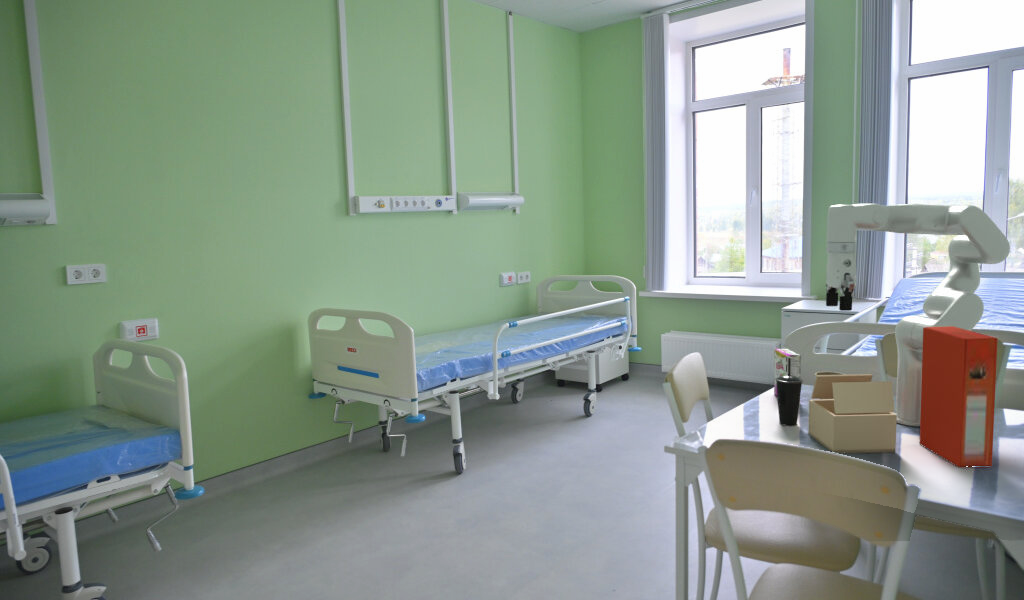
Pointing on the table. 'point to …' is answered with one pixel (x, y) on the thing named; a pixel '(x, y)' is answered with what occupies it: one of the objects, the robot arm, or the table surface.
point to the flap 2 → (863, 397)
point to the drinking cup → (788, 397)
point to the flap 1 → (824, 382)
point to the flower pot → (828, 374)
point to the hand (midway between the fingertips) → (838, 308)
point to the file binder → (958, 395)
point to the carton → (851, 429)
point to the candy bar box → (785, 364)
